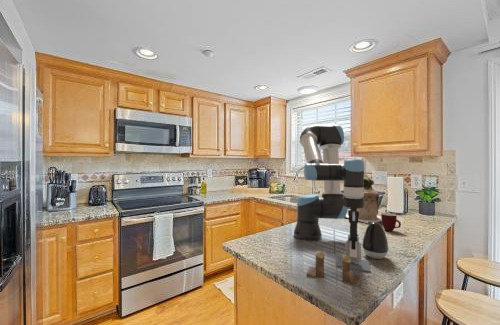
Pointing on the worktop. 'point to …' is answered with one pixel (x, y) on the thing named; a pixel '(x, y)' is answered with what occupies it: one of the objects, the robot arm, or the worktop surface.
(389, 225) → the mug
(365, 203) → the cookie jar
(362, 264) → the mat
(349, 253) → the power adapter
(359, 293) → the worktop surface
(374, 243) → the pump dispenser
